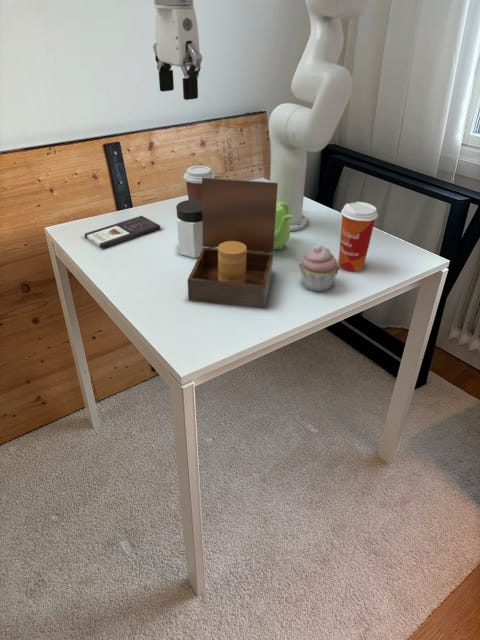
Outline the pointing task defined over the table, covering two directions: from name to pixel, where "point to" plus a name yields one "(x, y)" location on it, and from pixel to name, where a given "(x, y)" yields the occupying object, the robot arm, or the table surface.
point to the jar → (190, 228)
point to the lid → (239, 213)
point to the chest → (232, 293)
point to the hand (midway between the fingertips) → (178, 94)
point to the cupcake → (318, 269)
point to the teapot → (281, 226)
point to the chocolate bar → (122, 231)
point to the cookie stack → (232, 262)
